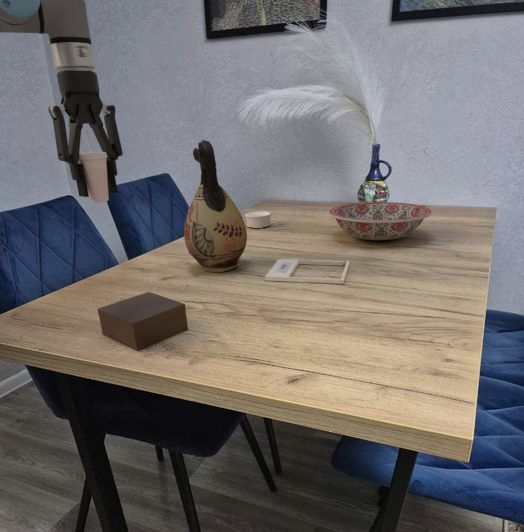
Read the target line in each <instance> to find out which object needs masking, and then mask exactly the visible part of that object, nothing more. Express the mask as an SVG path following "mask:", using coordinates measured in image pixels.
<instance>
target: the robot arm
mask: <svg viewBox="0 0 524 532" xmlns="http://www.w3.org/2000/svg"><path fill="white" fill-rule="evenodd" d="M87 13H88V11H87V3H86V0H0V33H7V34H9V33H10V34H11V33H13V34H16V33H17V34H39V35H43V34H44V35H45V34H46V35H48V38H49V43H50V48H51V54H52V60H53V65H54V68H55V70H58V72H56V79H57V84H58V89H59V90H58V91H59V93H60V96H61V100H60V104H57V105H51V106H48V108H47V109H48V112H49V115H50V117H51V119H52V124H53V132H54V138H55V146H56V153H57V158H58V161H61V162H64V163H67V165H68V166H69V171H70V175H71V179H72V180H73V181H76V187H77V191H78V197H82V198H90V196H89V193H88V188H87V183H86V178H85V173H84V168H83V164H80V163H79V153H80V151H81V139H82V129H83V128H84V125H86V124H87V125H88V126H89V127H90V128H91V130H92V133H93V134H94V136H95V139H96V140H97V142H98V145H99V147H100V149H101V152H106V153H107V156H108V157H106V163H107V180H108V193H114V194H116V193H118V187H117V180H116V176H118V169H117V161H118V160H119V157H122V156H123V155H124V152H123V147H122V144H121V143H122V142H121V139H120V134H119V129H118V125H117V121H116V106H115V105H114V104H105V103H103V100H102V99H101V97H100V86H99V79H98V74H97V73H96V71H94V70H95V69H96V63H95V56H94V50H93V43H92V39H91V31H90V25H89V20H88V19H89V18H88V14H87ZM65 114H66V115H67V116H68V127H69V128H68V129H69V130H68V131H69V132H68V133H67V127H66V126H67V125H66V121H65ZM101 114H102V115H103V121H104V122H103V121H102V118H101ZM104 126H105V128H104ZM67 134H68V135H67Z"/></svg>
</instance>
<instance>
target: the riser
mask: <svg viewBox="0 0 524 532" xmlns="http://www.w3.org/2000/svg"><path fill="white" fill-rule="evenodd" d="M97 314H98V318H99V323H100V328H101V333H102V335H103V336H105V337H107V338H110V339H112V340H114V341H116V342H118V343H120V344H121V345H122V344H123V345H125V346H127V347H129V348H130V349H133V350H135V351H137V352H138V351H140V350H143V349H145V348H147V347H150V346H153V345H155V344H157V343H159V342H162V341H164V340H167V339H169V338H171V337H173V336H176V335H178V334H180V333H183V332H185V331H188V330H189V325H188V318H187V317H188V316H187V309H186V303H184V302H181V301H177V300H175V299H171V298H169V297H166V296H162V295H159V294H156V293H154V292H151V291H146V292H144V293H140V294H138V295H134V296H132V297H128V298H126V299H122V300H119V301H117V302H114V303H110V304H108V305H104V306H101V307H98V308H97Z"/></svg>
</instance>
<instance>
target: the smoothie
mask: <svg viewBox="0 0 524 532" xmlns="http://www.w3.org/2000/svg"><path fill="white" fill-rule="evenodd" d="M84 132H85V137H86V142H87V147H88V151H85V152H79V162H78V163H80V164H83V168H84V173H85V178H86V183H87V188H88V194H89V199H90V202H91V203H103V202H108V201H109V200H110V198H109V192H108V180H107V163H106V160H107V159H106V157H108V156H107V153H106V152H103V151H93V149H92V144H91V139H90V133H89V130H88V129H85V130H84Z"/></svg>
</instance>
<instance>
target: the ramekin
mask: <svg viewBox="0 0 524 532" xmlns="http://www.w3.org/2000/svg"><path fill="white" fill-rule="evenodd" d="M271 216H272V213H271V211H250V212H247V213H245V214H244V217H245V222H246V226H248V227H254V228H259V227H266V226H269V225H270V226H271ZM270 226H269V227H270ZM248 227H247V228H248ZM266 228H267V227H266Z"/></svg>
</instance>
